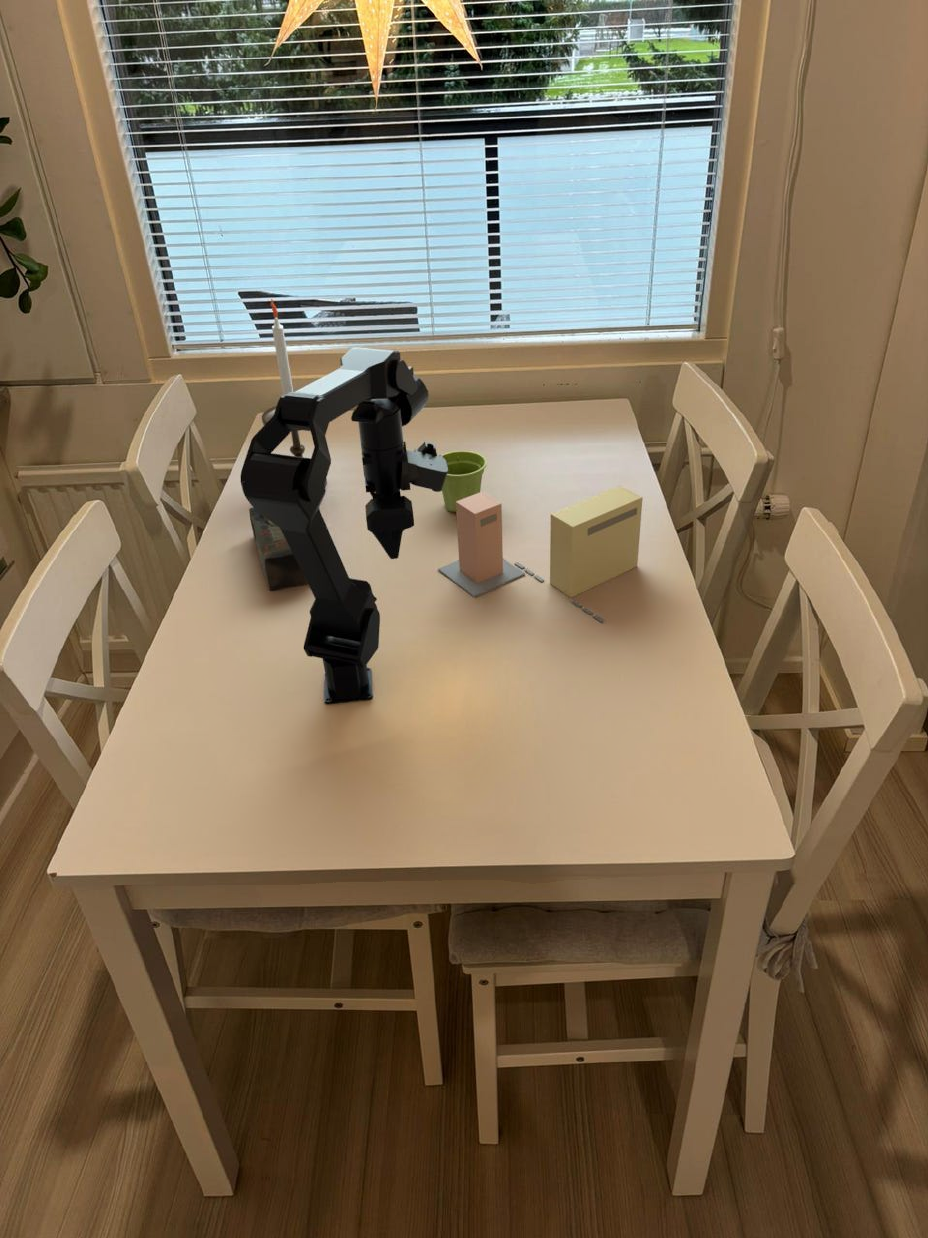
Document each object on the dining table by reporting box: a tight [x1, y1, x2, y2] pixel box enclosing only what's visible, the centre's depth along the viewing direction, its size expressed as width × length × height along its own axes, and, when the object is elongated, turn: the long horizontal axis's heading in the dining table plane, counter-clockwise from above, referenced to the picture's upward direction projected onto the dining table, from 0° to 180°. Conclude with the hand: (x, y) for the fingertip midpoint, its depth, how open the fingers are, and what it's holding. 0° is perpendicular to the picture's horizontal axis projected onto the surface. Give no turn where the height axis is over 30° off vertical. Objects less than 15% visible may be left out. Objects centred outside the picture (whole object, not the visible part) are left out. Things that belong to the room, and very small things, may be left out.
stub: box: [455, 491, 504, 583], centre depth 145 cm, size 5×5×12 cm
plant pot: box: [441, 450, 488, 513], centre depth 165 cm, size 9×9×9 cm
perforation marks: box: [514, 561, 605, 624], centre depth 144 cm, size 1×21×1 cm, turn 35°
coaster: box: [437, 558, 526, 598], centre depth 149 cm, size 10×10×1 cm
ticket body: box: [549, 485, 643, 598], centre depth 144 cm, size 14×5×12 cm, turn 125°
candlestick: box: [261, 298, 328, 488], centre depth 167 cm, size 11×11×35 cm
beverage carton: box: [248, 507, 308, 591], centre depth 154 cm, size 8×19×7 cm, turn 18°
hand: (392, 541), depth 133 cm, fingers open, 9 cm apart
